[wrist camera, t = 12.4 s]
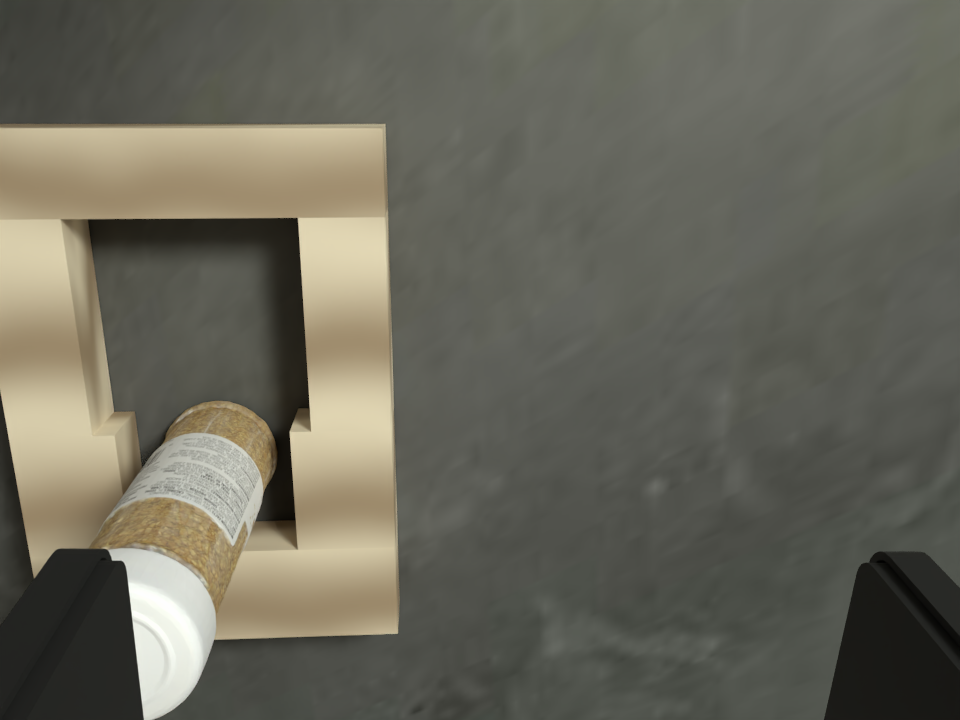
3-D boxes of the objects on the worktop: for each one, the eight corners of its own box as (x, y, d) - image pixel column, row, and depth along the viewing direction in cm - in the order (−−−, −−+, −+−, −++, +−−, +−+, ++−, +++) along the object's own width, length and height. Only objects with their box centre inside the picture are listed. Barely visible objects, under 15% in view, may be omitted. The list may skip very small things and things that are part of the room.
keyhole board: (-13, 124, 31) (-47, 128, 29) (385, 123, 32) (382, 128, 30) (69, 610, 37) (45, 645, 35) (399, 599, 38) (397, 633, 36)
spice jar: (225, 519, 37) (118, 762, 24) (141, 445, 35) (-19, 658, 23) (304, 451, 36) (237, 663, 23) (221, 372, 35) (103, 551, 22)
